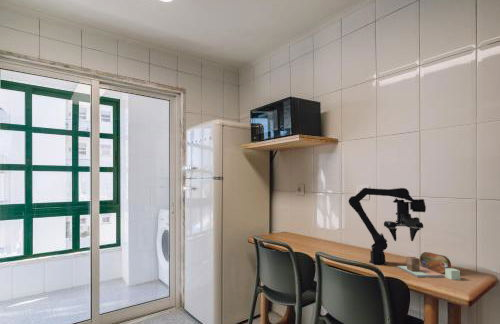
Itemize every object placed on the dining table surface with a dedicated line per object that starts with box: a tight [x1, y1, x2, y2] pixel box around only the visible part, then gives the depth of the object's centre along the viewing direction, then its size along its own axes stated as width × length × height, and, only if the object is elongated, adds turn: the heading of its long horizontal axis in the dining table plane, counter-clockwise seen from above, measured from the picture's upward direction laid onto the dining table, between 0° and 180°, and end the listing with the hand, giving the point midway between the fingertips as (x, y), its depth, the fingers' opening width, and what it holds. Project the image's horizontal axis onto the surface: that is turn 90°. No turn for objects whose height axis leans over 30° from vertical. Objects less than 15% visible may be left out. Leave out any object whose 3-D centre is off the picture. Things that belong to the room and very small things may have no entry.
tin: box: [419, 251, 452, 274], centre depth 145 cm, size 15×3×8 cm, turn 21°
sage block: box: [444, 267, 461, 281], centre depth 133 cm, size 4×4×4 cm
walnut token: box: [406, 256, 421, 272], centre depth 142 cm, size 4×4×6 cm
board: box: [397, 265, 446, 279], centre depth 142 cm, size 13×17×1 cm
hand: (403, 241), depth 153 cm, fingers open, 9 cm apart
